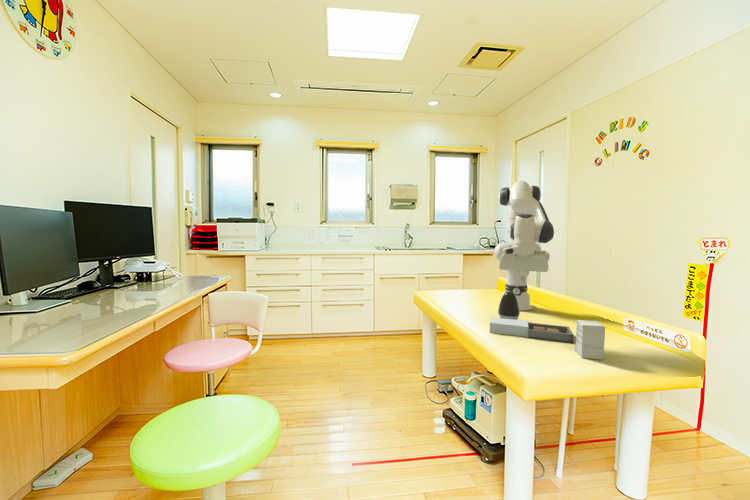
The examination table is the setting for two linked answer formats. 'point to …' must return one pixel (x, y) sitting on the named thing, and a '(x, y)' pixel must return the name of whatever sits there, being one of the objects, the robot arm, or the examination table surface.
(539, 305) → the examination table surface
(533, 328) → the tile
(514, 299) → the pump dispenser
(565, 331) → the tray
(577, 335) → the supplement box
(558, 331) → the tile
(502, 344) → the examination table surface
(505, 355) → the examination table surface
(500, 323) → the pale grey flat block
